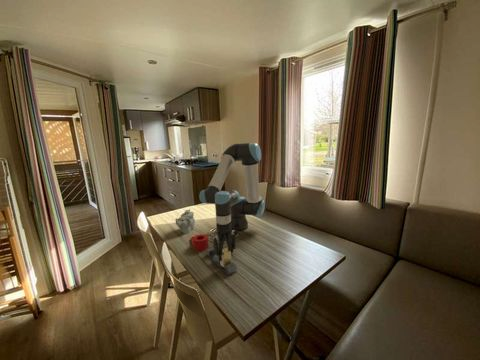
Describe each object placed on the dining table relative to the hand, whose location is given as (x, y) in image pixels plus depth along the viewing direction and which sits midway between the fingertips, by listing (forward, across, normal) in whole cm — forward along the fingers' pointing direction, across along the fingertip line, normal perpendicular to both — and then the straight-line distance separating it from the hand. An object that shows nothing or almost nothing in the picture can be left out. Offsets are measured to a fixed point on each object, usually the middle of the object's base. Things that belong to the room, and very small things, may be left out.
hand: (225, 263), depth 107 cm
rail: (+2, 0, +6) cm, 7 cm away
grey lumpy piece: (+2, -1, +56) cm, 56 cm away
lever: (+3, -1, +33) cm, 33 cm away
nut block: (0, 0, 0) cm, 0 cm away
